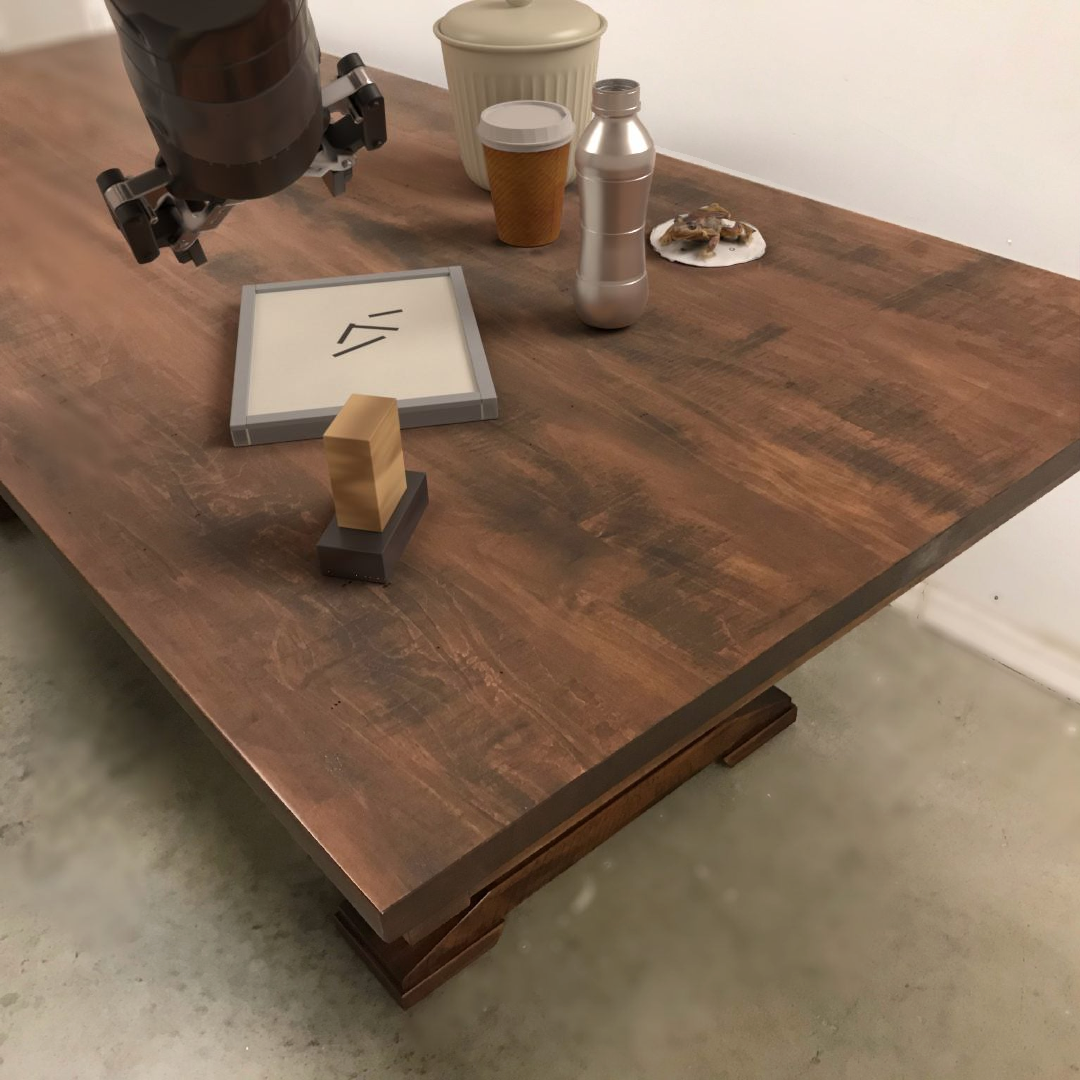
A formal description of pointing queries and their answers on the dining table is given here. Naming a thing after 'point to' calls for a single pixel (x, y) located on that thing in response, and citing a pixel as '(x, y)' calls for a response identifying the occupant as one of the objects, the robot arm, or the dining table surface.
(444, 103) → the dining table surface
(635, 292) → the silver bottle
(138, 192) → the robot arm
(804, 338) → the dining table surface
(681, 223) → the frog figurine
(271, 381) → the whiteboard
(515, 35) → the canister
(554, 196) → the disposable coffee cup
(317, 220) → the dining table surface
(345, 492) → the eraser
